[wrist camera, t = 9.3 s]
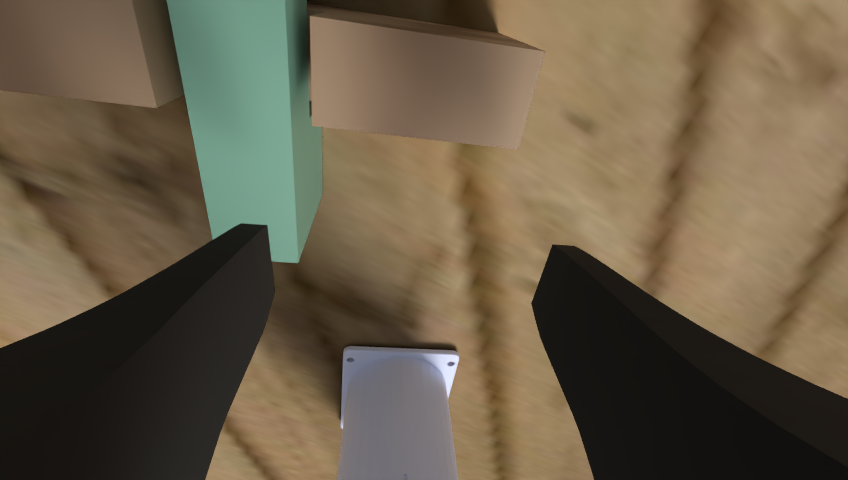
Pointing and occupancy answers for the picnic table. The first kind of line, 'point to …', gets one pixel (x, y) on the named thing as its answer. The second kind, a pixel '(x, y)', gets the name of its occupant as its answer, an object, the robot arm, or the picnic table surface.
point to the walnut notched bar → (327, 67)
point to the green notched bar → (252, 115)
